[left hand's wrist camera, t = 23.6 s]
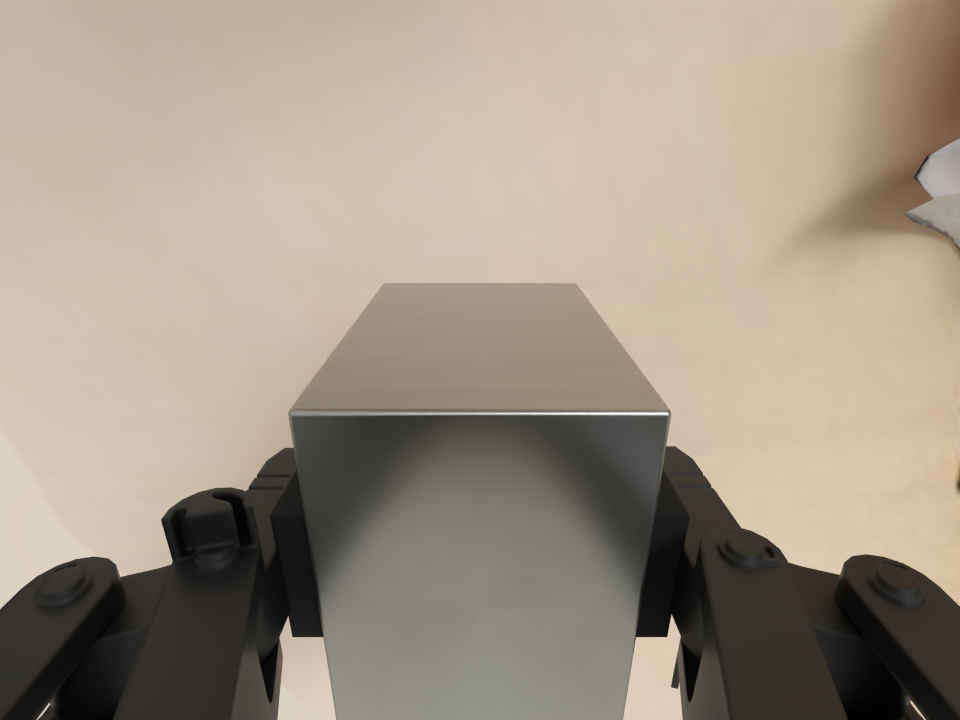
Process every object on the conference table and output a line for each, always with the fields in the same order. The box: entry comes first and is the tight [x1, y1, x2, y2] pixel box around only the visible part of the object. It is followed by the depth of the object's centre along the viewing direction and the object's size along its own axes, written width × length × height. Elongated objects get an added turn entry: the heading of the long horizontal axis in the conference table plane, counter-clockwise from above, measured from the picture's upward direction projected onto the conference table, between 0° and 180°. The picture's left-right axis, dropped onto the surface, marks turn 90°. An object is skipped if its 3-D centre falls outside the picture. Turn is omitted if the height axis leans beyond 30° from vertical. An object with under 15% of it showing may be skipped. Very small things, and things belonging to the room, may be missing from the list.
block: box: [289, 283, 671, 720], centre depth 12 cm, size 7×5×8 cm
